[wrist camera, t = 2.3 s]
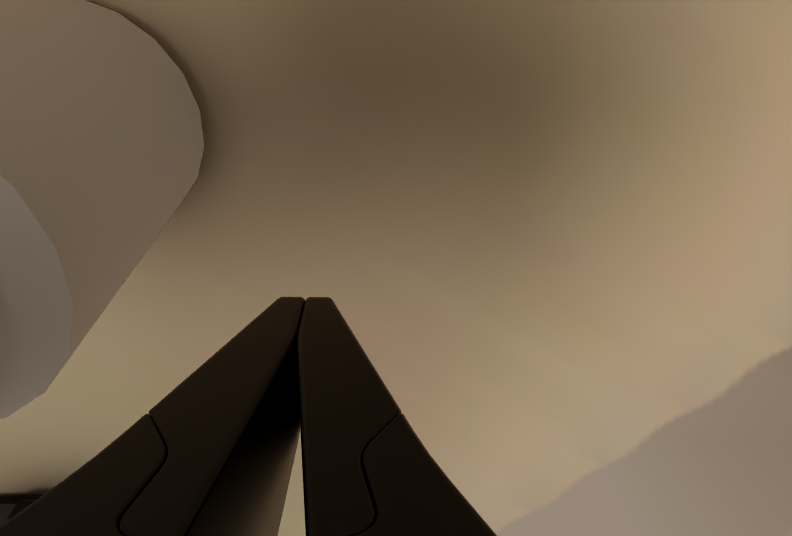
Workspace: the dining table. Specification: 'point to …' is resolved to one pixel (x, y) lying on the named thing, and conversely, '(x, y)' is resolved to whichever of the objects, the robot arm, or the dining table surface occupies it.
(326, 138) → the dining table surface
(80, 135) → the can
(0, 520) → the robot arm
